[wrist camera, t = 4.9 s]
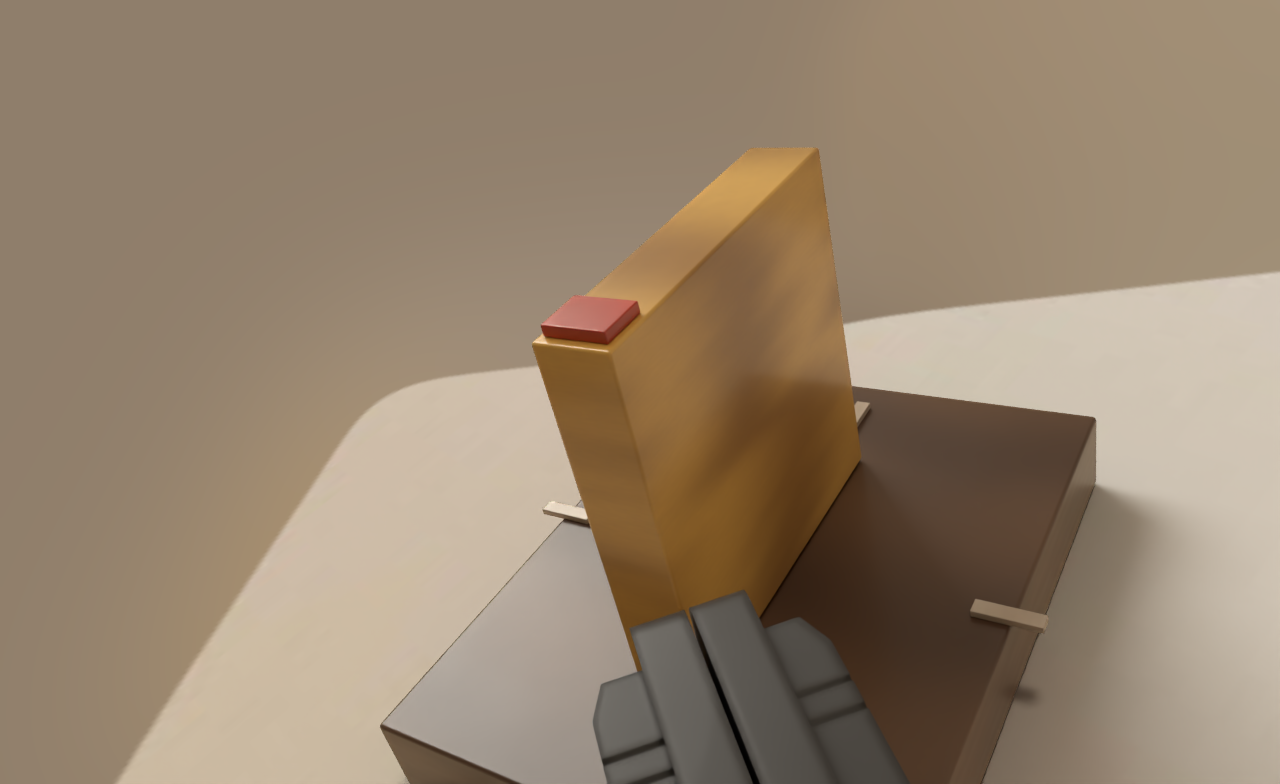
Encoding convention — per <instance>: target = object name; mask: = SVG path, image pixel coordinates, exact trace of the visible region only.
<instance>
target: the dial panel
mask: <svg viewBox="0 0 1280 784" xmlns="http://www.w3.org/2000/svg"><path fill="white" fill-rule="evenodd" d="M852 392H853V400H854V407H855V414H856V421H857V428H858V435H859V443H860V450H861V459H860V461H859V462H858V464H857V466H856V467H855V469H854V470H853V472H852V473H851V475H850V477H849V478H848V480H847V481H846V483H845V484H844V486H843V487H842V489H841V491H840V492H839V494H838V495H837V497H836V498H835V500H834V502H833V503H832V505H831V506H830V508H829V509H828V511H827V513H826V514H825V516H824V517H823V519H822V520H821V522H820V524H819V525H818V527H817V528H816V530H815V531H814V533H813V535H812V536H811V538H810V539H809V541H808V542H807V544H806V546H805V547H804V549H803V550H802V552H801V553H800V555H799V556H798V558H797V560H796V561H795V563H794V564H793V566H792V567H791V569H790V571H789V572H788V574H787V575H786V577H785V578H784V580H783V582H782V583H781V585H780V586H779V588H778V589H777V591H776V593H775V594H774V596H773V597H772V599H771V600H770V602H769V604H768V605H767V607H766V608H765V610H764V611H763V613H762V615H761V616H760V618H759V619H760V621H761V623H762V625H763V627H764V628H767V627H770V626H773V625H776V624H779V623H782V622H785V621H788V620H791V619H794V618H797V617H800V618H802V619H803V620H804V621H806V622H807V623H808V624H810V625H811V626H812V627H814V628H815V629H816V630H818V631H819V632H821V633H822V634H823V635H825V636H826V637H827V638H829V639H830V640H831V641H832V643H833V645H834V646H835V648H836V650H837V652H838V654H839V655H840V657H841V659H842V661H843V663H844V664H845V666H846V668H847V670H848V672H849V673H850V677H851V679H852V680H853V681H854V683H855V684H856V686H857V688H858V690H859V692H860V693H861V695H862V697H863V699H864V701H865V704H866V706H867V708H869V710H870V712H871V713H872V715H873V717H874V719H875V721H876V722H877V724H878V726H879V728H880V730H881V731H882V733H883V735H884V737H885V739H886V740H887V742H888V744H889V746H890V748H891V750H892V751H893V753H894V755H895V757H896V759H897V760H898V762H899V764H900V766H901V768H902V769H903V771H904V773H905V775H906V777H907V778H908V780H909V782H910V784H981V782H982V779H983V776H984V774H985V771H986V768H987V766H988V763H989V761H990V758H991V755H992V753H993V750H994V747H995V745H996V742H997V740H998V737H999V734H1000V732H1001V729H1002V726H1003V724H1004V721H1005V719H1006V716H1007V713H1008V711H1009V708H1010V705H1011V703H1012V700H1013V697H1014V695H1015V692H1016V690H1017V687H1018V684H1019V682H1020V679H1021V676H1022V674H1023V671H1024V669H1025V666H1026V663H1027V661H1028V658H1029V655H1030V653H1031V650H1032V648H1033V645H1034V642H1035V640H1036V637H1037V634H1038V633H1042V634H1044V632H1045V629H1046V627H1047V624H1048V621H1049V620H1048V615H1045V613H1046V611H1047V608H1048V605H1049V603H1050V600H1051V598H1052V595H1053V592H1054V590H1055V587H1056V584H1057V582H1058V579H1059V577H1060V574H1061V571H1062V569H1063V566H1064V563H1065V561H1066V558H1067V556H1068V553H1069V550H1070V548H1071V545H1072V542H1073V540H1074V537H1075V534H1076V532H1077V529H1078V527H1079V524H1080V521H1081V519H1082V516H1083V513H1084V511H1085V508H1086V506H1087V503H1088V500H1089V498H1090V495H1091V492H1092V490H1093V487H1094V485H1095V482H1096V419H1095V418H1094V417H1089V416H1081V415H1073V414H1065V413H1057V412H1049V411H1042V410H1034V409H1026V408H1018V407H1010V406H1003V405H995V404H987V403H979V402H971V401H964V400H956V399H948V398H940V397H932V396H925V395H917V394H909V393H901V392H893V391H886V390H878V389H870V388H862V387H854V386H852ZM543 512H544V514H547V515H551V516H555V517H559V518H563V519H564V520H563V521H562V522H561V523H560V524H559V525H558V526H557V528H556V529H555V530H554V531H553V532H552V533H551V534H550V535H549V536H548V538H547V539H546V540H545V541H544V542H543V543H542V544H541V545H540V547H539V548H538V549H537V550H536V551H535V552H534V553H533V554H532V555H531V557H530V558H529V559H528V560H527V561H526V562H525V563H524V564H523V566H522V567H521V568H520V569H519V570H518V571H517V572H516V573H515V574H514V576H513V577H512V578H511V579H510V580H509V581H508V582H507V583H506V585H505V586H504V587H503V588H502V589H501V590H500V591H499V592H498V594H497V595H496V596H495V597H494V598H493V599H492V600H491V601H490V602H489V604H488V605H487V606H486V607H485V608H484V609H483V610H482V611H481V613H480V614H479V615H478V616H477V617H476V618H475V619H474V620H473V621H472V623H471V624H470V625H469V626H468V627H467V628H466V629H465V630H464V632H463V633H462V634H461V635H460V636H459V637H458V638H457V639H456V640H455V642H454V643H453V644H452V645H451V646H450V647H449V648H448V649H447V651H446V652H445V653H444V654H443V655H442V656H441V657H440V658H439V659H438V661H437V662H436V663H435V664H434V665H433V666H432V667H431V668H430V670H429V671H428V672H427V673H426V674H425V675H424V676H423V677H422V679H421V680H420V681H419V682H418V683H417V684H416V685H415V686H414V687H413V689H412V690H411V691H410V692H409V693H408V694H407V695H406V696H405V698H404V699H403V700H402V701H401V702H400V703H399V704H398V705H397V706H396V708H395V709H394V710H393V711H392V712H391V713H390V714H389V715H388V717H387V718H386V719H385V720H384V721H383V722H382V723H381V725H380V728H381V730H382V732H383V734H384V736H385V738H386V740H387V741H388V743H389V745H390V747H391V749H392V751H393V753H394V755H395V757H396V758H397V760H398V762H399V764H400V766H401V768H402V770H403V772H404V774H405V775H406V777H407V779H408V781H409V783H410V784H607V781H606V777H605V773H604V769H603V763H602V760H601V756H600V752H599V748H598V744H597V740H596V736H595V732H594V728H593V723H592V721H593V716H594V712H595V708H596V703H597V699H598V695H599V690H600V686H601V684H602V683H605V682H608V681H611V680H614V679H617V678H620V677H623V676H626V675H629V674H632V673H635V672H637V670H636V666H635V663H634V660H633V657H632V654H631V651H630V648H629V645H628V642H627V639H626V635H625V632H624V629H623V626H622V623H621V620H620V617H619V614H618V611H617V608H616V605H615V601H614V598H613V595H612V592H611V589H610V586H609V583H608V580H607V577H606V574H605V570H604V567H603V564H602V561H601V558H600V555H599V552H598V549H597V546H596V543H595V539H594V536H593V533H592V530H591V527H590V524H589V521H588V518H587V515H586V512H585V508H584V505H583V502H582V500H581V501H580V502H579V503H578V504H577V505H576V506H571V505H566V504H562V503H558V502H553V501H550V502H549V503H548V504H547V505H546V506H545V507H544V508H543Z"/></svg>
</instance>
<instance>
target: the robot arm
mask: <svg viewBox="0 0 1280 784" xmlns="http://www.w3.org/2000/svg"><path fill="white" fill-rule="evenodd" d="M689 613H690V617H691V621H692V625H693V629H694V632H695V634H694V632H693V629H692V627H691V624H690V621H689V619H688V616H687V614H686V612H685V610H682V611H679V612H676V613H673V614H670V615H667V616H664V617H661V618H658V619H655V620H652V621H649V622H646V623H643V624H640V625H637V626H634V627H631V628H629V629H630V633H631V636H632V639H633V642H634V645H635V649H636V652H637V655H638V658H639V661H640V664H641V668H642V670H641V671H638V672H635V673H632V674H629V675H626V676H623V677H620V678H617V679H614V680H611V681H608V682H605V683H602V684H601V686H600V690H599V695H598V699H597V703H596V708H595V712H594V716H593V721H592V723H593V728H594V732H595V736H596V740H597V744H598V748H599V752H600V756H601V760H602V763H603V769H604V773H605V777H606V781H607V784H910V782H909V780H908V778H907V777H906V775H905V773H904V771H903V769H902V768H901V766H900V764H899V762H898V760H897V759H896V757H895V755H894V753H893V751H892V750H891V748H890V746H889V744H888V742H887V740H886V739H885V737H884V735H883V733H882V731H881V730H880V728H879V726H878V724H877V722H876V721H875V719H874V717H873V715H872V713H871V712H870V710H869V708H867V706H866V704H865V701H864V699H863V697H862V695H861V693H860V692H859V690H858V688H857V686H856V684H855V683H854V681H853V680H852V679H851V677H850V673H849V672H848V670H847V668H846V666H845V664H844V663H843V661H842V659H841V657H840V655H839V654H838V652H837V650H836V648H835V646H834V645H833V643H832V641H831V640H830V639H829V638H827V637H826V636H825V635H823V634H822V633H821V632H819V631H818V630H816V629H815V628H814V627H812V626H811V625H810V624H808V623H807V622H806V621H804V620H803V619H802V618H800V617H797V618H794V619H791V620H788V621H785V622H782V623H779V624H776V625H773V626H770V627H767V628H764V627H763V625H762V623H761V621H760V619H759V617H758V615H757V613H756V611H755V609H754V607H753V605H752V602H751V600H750V598H749V596H748V595H747V593H746V591H745V590H744V589H743V590H740V591H737V592H734V593H731V594H729V595H726V596H723V597H720V598H717V599H714V600H711V601H708V602H705V603H702V604H699V605H696V606H693V607H690V608H689ZM695 636H696V637H695Z"/></svg>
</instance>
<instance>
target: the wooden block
mask: <svg viewBox="0 0 1280 784" xmlns="http://www.w3.org/2000/svg"><path fill="white" fill-rule="evenodd" d="M541 328H542V332H543V333H542V334H541V335H540V336H539V337H538V338H537V339H536V340H535V341H533V343H532V347H533V350H534V353H535V357H536V360H537V363H538V366H539V369H540V372H541V375H542V378H543V381H544V385H545V388H546V391H547V394H548V397H549V400H550V403H551V406H552V409H553V412H554V416H555V419H556V422H557V425H558V428H559V431H560V434H561V437H562V440H563V443H564V447H565V450H566V453H567V456H568V459H569V462H570V465H571V468H572V471H573V474H574V477H575V481H576V484H577V487H578V490H579V493H580V496H581V499H582V502H583V505H584V508H585V512H586V515H587V518H588V521H589V524H590V527H591V530H592V533H593V536H594V539H595V543H596V546H597V549H598V552H599V555H600V558H601V561H602V564H603V567H604V570H605V574H606V577H607V580H608V583H609V586H610V589H611V592H612V595H613V598H614V601H615V605H616V608H617V611H618V614H619V617H620V620H621V623H622V626H623V629H624V632H625V635H626V639H627V642H628V645H629V648H630V651H631V654H632V657H633V660H634V663H635V666H636V670H637V672H638V671H641V670H642V668H641V664H640V661H639V658H638V655H637V652H636V649H635V645H634V642H633V639H632V636H631V633H630V629H629V628H631V627H634V626H637V625H640V624H643V623H646V622H649V621H652V620H655V619H658V618H661V617H664V616H667V615H670V614H673V613H676V612H679V611H682V610H685V612H686V614H687V616H688V619H689V621H690V624H691V627H692V629H693V625H692V621H691V617H690V613H689V608H690V607H693V606H696V605H699V604H702V603H705V602H708V601H711V600H714V599H717V598H720V597H723V596H726V595H729V594H731V593H734V592H737V591H740V590H743V589H744V590H745V591H746V593H747V595H748V596H749V598H750V600H751V602H752V605H753V607H754V609H755V611H756V613H757V615H758V617H759V618H760V616H761V615H762V613H763V611H764V610H765V608H766V607H767V605H768V604H769V602H770V600H771V599H772V597H773V596H774V594H775V593H776V591H777V589H778V588H779V586H780V585H781V583H782V582H783V580H784V578H785V577H786V575H787V574H788V572H789V571H790V569H791V567H792V566H793V564H794V563H795V561H796V560H797V558H798V556H799V555H800V553H801V552H802V550H803V549H804V547H805V546H806V544H807V542H808V541H809V539H810V538H811V536H812V535H813V533H814V531H815V530H816V528H817V527H818V525H819V524H820V522H821V520H822V519H823V517H824V516H825V514H826V513H827V511H828V509H829V508H830V506H831V505H832V503H833V502H834V500H835V498H836V497H837V495H838V494H839V492H840V491H841V489H842V487H843V486H844V484H845V483H846V481H847V480H848V478H849V477H850V475H851V473H852V472H853V470H854V469H855V467H856V466H857V464H858V462H859V461H860V459H861V450H860V443H859V435H858V428H857V421H856V414H855V407H854V400H853V392H852V385H851V378H850V371H849V364H848V357H847V349H846V342H845V335H844V328H843V321H842V314H841V307H840V300H839V292H838V285H837V278H836V271H835V263H834V256H833V249H832V242H831V235H830V228H829V220H828V213H827V206H826V199H825V193H824V185H823V178H822V170H821V163H820V156H819V150H818V148H751V149H749V150H748V151H747V152H746V153H744V154H743V155H742V156H741V157H740V158H739V159H738V160H737V161H736V162H734V163H733V164H732V165H731V166H730V167H729V168H728V169H727V170H725V171H724V172H723V173H722V174H721V175H720V176H719V177H717V178H716V179H715V180H714V181H713V182H712V183H711V184H710V185H709V186H707V187H706V188H705V189H704V190H703V191H702V192H701V193H699V194H698V195H697V196H696V197H695V198H694V199H693V200H692V201H691V202H690V203H688V205H686V206H685V207H684V208H683V209H682V210H680V212H678V213H677V214H676V215H675V216H674V217H673V218H672V219H670V220H669V221H668V222H667V223H666V224H665V225H664V226H663V227H661V228H660V229H659V230H658V231H657V232H656V233H655V234H653V235H652V236H651V237H650V238H649V239H648V240H647V241H646V242H644V243H643V244H642V245H641V246H640V247H639V248H638V249H637V250H636V251H635V252H633V253H632V254H631V255H630V256H629V257H628V258H627V259H626V260H624V261H623V262H622V263H621V264H620V265H619V266H618V267H616V268H615V269H614V270H613V271H612V272H611V273H610V274H609V275H608V276H606V277H605V278H604V279H603V280H602V281H601V282H600V283H598V284H597V286H595V287H594V288H593V289H592V290H591V291H589V292H588V293H587V294H586V295H585V296H578V295H574V296H573V297H572V298H571V299H569V300H568V301H567V302H566V303H565V304H564V305H562V306H561V307H560V308H559V309H558V310H557V311H556V312H554V313H553V314H552V315H551V316H550V317H549V318H548V319H547V320H546V321H544V322H543V323H542V324H541ZM693 632H694V629H693ZM694 634H695V632H694ZM695 637H696V636H695Z"/></svg>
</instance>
